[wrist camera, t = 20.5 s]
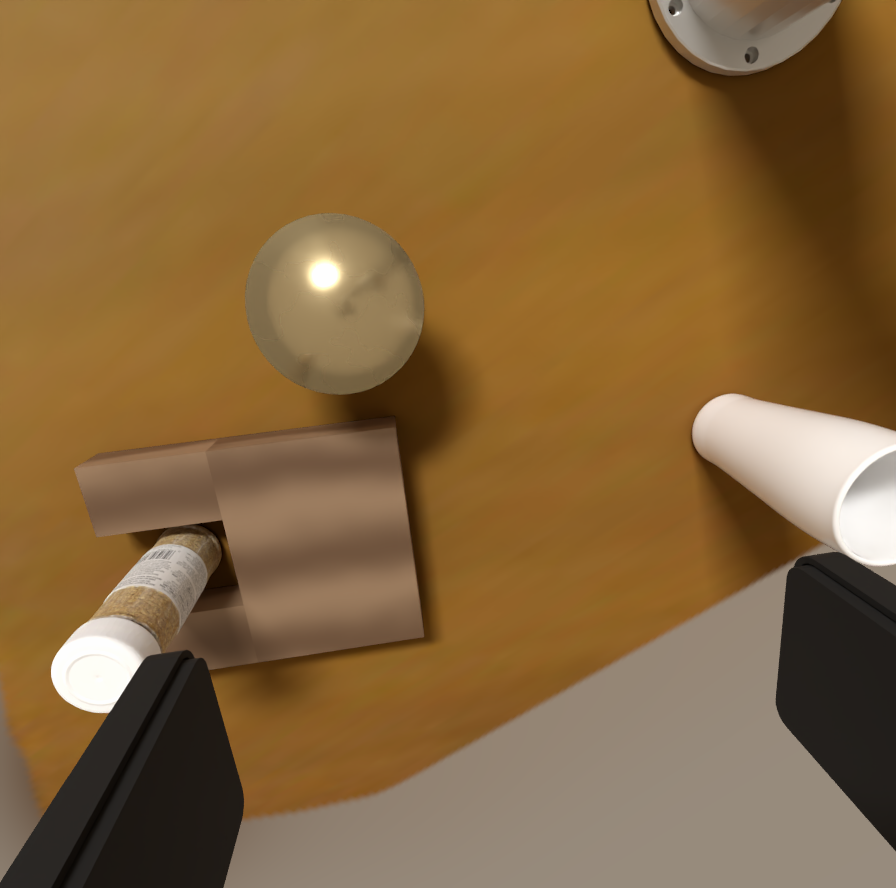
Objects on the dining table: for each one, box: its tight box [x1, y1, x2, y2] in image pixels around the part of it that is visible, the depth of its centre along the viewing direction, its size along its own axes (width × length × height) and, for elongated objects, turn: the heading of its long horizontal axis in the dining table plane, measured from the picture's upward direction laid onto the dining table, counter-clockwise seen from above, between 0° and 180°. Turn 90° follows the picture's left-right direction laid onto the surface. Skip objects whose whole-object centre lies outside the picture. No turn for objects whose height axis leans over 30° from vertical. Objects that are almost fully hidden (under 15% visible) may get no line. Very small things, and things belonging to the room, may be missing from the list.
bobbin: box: [245, 213, 424, 395], centre depth 32 cm, size 9×9×8 cm
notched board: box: [74, 416, 424, 670], centre depth 39 cm, size 16×20×3 cm
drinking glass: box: [692, 394, 896, 566], centre depth 34 cm, size 7×7×15 cm
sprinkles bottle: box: [51, 524, 222, 713], centre depth 33 cm, size 5×5×14 cm
